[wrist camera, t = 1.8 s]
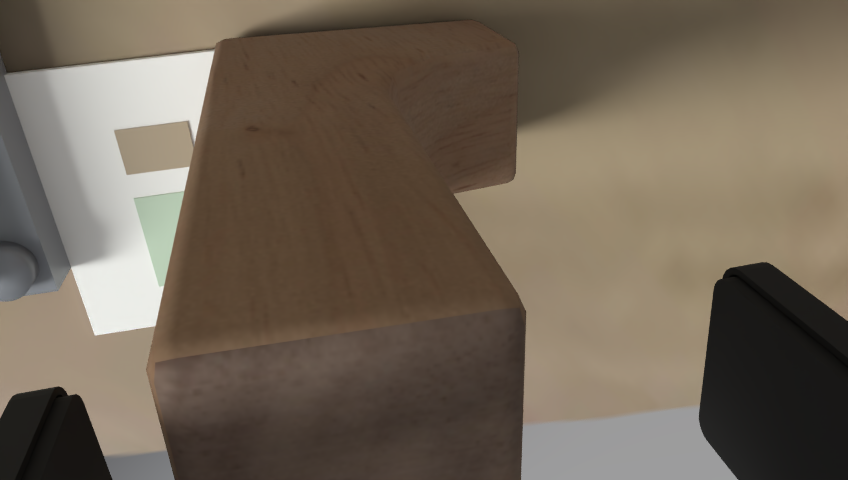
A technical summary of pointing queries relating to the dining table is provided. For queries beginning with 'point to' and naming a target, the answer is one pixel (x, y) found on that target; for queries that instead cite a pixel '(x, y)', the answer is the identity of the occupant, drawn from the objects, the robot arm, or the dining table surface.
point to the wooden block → (344, 263)
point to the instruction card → (115, 171)
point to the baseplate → (24, 214)
